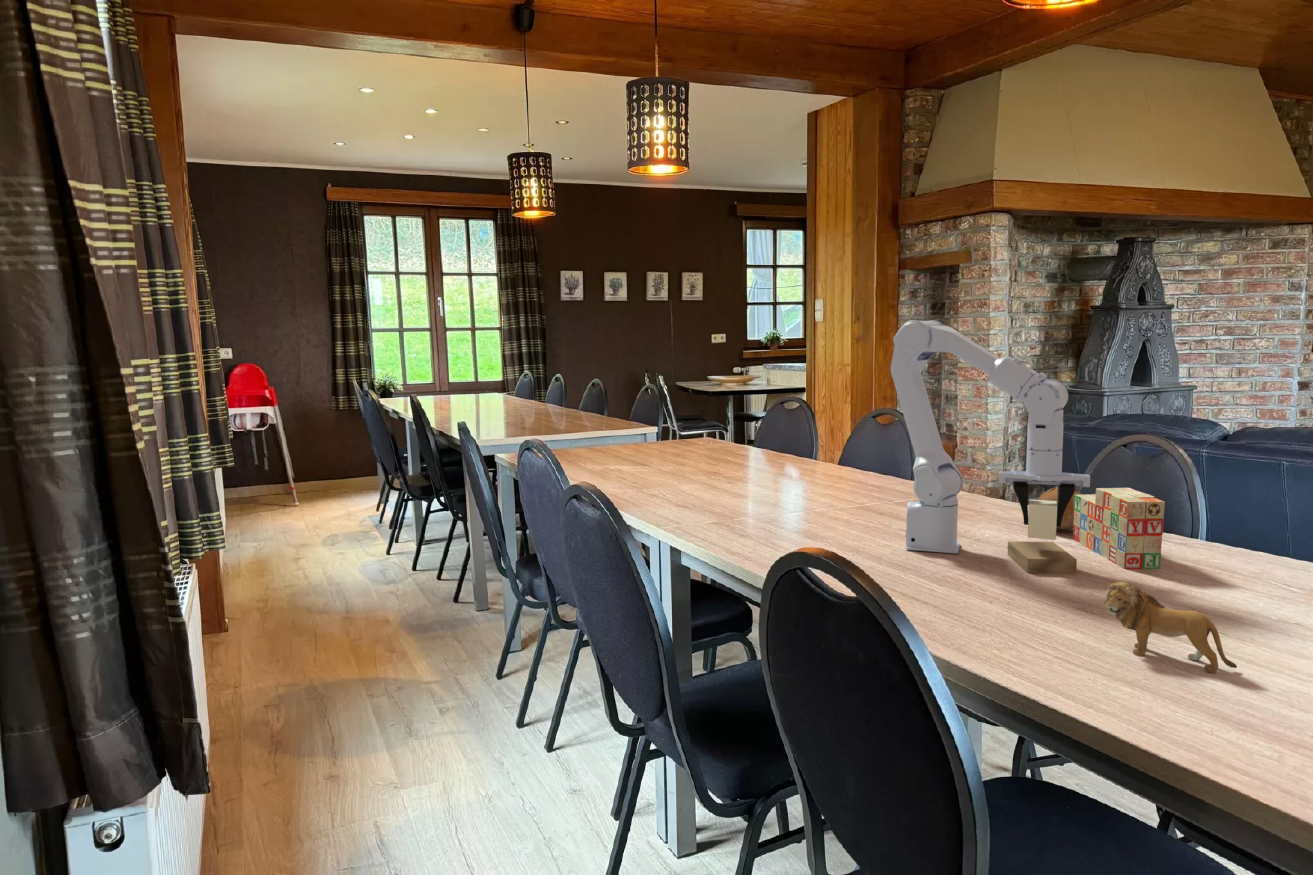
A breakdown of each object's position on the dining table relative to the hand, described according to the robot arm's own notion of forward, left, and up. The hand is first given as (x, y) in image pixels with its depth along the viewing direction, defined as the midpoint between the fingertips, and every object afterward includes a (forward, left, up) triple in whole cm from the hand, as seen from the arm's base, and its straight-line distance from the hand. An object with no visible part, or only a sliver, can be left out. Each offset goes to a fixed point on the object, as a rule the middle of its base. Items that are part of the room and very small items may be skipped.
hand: (1041, 524), depth 148 cm
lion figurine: (+12, -42, -8) cm, 44 cm away
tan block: (0, 0, -8) cm, 8 cm away
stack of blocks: (+13, +12, -8) cm, 19 cm away
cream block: (0, 0, -2) cm, 2 cm away
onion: (+5, +28, -7) cm, 29 cm away
